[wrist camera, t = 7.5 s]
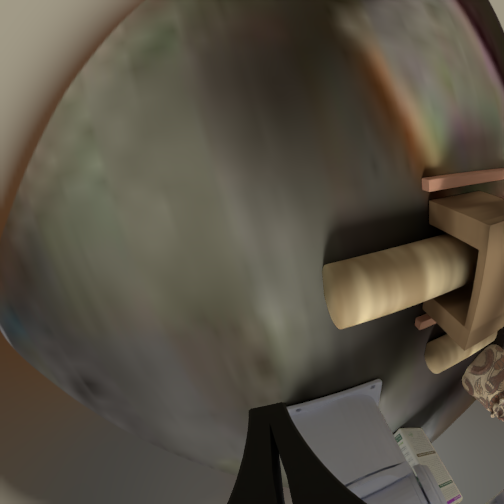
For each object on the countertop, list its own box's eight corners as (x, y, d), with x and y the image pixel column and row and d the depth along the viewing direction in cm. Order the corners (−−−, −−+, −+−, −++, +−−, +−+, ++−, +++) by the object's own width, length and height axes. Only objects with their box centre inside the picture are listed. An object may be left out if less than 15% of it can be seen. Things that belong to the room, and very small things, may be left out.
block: (422, 309, 20) (464, 351, 15) (428, 200, 17) (489, 225, 11) (469, 288, 20) (511, 321, 15) (479, 190, 17) (534, 210, 12)
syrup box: (399, 427, 28) (444, 512, 14) (422, 426, 29) (464, 500, 16) (370, 451, 29) (405, 533, 16) (395, 450, 31) (430, 522, 17)
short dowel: (422, 341, 23) (427, 371, 22) (439, 342, 20) (444, 375, 19) (475, 315, 23) (480, 342, 23) (494, 312, 20) (499, 342, 19)
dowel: (326, 315, 19) (347, 340, 15) (318, 258, 18) (340, 272, 14) (452, 274, 19) (484, 286, 15) (449, 226, 19) (484, 231, 15)
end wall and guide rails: (414, 325, 21) (453, 369, 15) (421, 178, 16) (485, 197, 11) (497, 286, 21) (535, 313, 16) (510, 167, 17) (559, 181, 11)
